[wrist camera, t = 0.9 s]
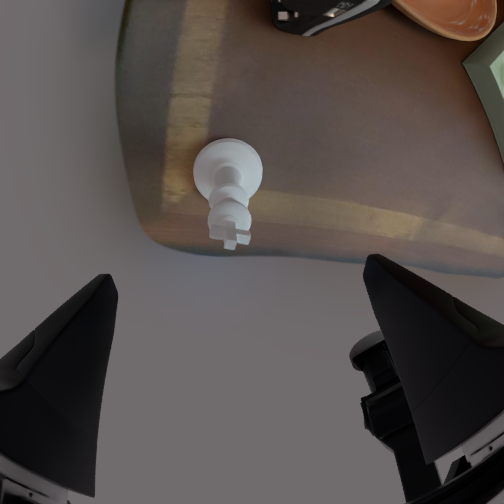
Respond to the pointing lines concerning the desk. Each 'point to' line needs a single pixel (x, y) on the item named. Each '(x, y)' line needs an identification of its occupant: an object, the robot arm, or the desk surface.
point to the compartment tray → (490, 80)
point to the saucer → (452, 16)
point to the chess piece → (228, 187)
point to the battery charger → (319, 13)
